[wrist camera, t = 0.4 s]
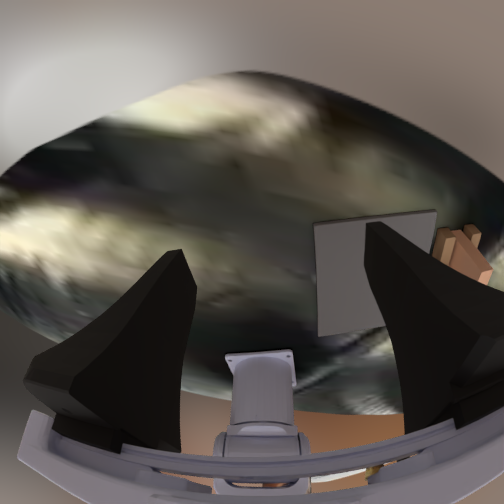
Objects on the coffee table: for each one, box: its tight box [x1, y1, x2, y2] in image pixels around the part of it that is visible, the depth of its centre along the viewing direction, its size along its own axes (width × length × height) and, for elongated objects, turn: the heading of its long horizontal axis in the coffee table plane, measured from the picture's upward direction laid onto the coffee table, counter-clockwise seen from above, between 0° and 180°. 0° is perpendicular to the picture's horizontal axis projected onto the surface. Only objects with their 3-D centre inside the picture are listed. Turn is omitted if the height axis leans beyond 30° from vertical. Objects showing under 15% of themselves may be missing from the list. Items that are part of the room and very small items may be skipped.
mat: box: [313, 210, 437, 337], centre depth 24 cm, size 14×11×1 cm
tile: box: [448, 230, 493, 285], centre depth 21 cm, size 9×2×6 cm, turn 10°
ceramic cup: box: [365, 464, 384, 480], centre depth 84 cm, size 13×10×10 cm
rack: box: [432, 224, 481, 266], centre depth 23 cm, size 10×5×2 cm, turn 10°
